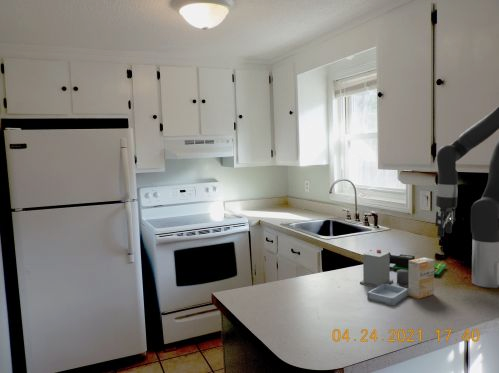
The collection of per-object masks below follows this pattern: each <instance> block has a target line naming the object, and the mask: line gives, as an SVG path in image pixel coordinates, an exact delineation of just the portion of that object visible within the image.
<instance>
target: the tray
mask: <svg viewBox="0 0 499 373" xmlns="http://www.w3.org/2000/svg"><path fill="white" fill-rule="evenodd" d="M366 293H367V294H366V295H367V296H366V297H367V298H366V300H370V301H373V302H377V303H381V304H385V305H390V306H394V305H396V304H397V303H399V302H401V301H402V300H404V299H405V298H406V297H408V296H409V295H408V288H406V287H402V286H397V285H394V284H385V283H384V284H382V285H380V286H378V287H373V288H372V289H370V290H369V291H367V292H366Z"/></svg>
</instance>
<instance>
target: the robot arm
mask: <svg viewBox="0 0 499 373" xmlns="http://www.w3.org/2000/svg"><path fill="white" fill-rule="evenodd" d="M498 130H499V105H498V106H497V107H496V108H494V109H493V110H492V111H491V112H490V113H489V114H487V115H485V117H483V118H481V119H480V120H478V121H477V122H475V123H474V124H473V125H471V126H470V127H469V128H467V129H466V130H464V132H462V133H461V134H460V135H459V136H458V138H457V139H455V140H454V141H453V142H452V143H450V144H446V145H443V146H441V147H440V148H439V149H438V151H437V155H436V163H437V170H438V174H437V175H438V176H437V187H436V200H435V206H436V207H437V208H439V210H436V212H435V227H437V237H439V238H443V237H444V236H445V233H446V234H452V230H453V224H454V223H455V221H456V208H457V207H458V206H457V205H458V193H459V192H458V191H459V190H458V183H459V182H458V180H459V178H458V177H459V173H458V171H457V168H456V166H457V164H456V163H457V161H459V160H460V159H462V158H463V157H464V156H465V155H467V154H468V153H469V152H470V151H471V150H473V149H475V147H478V146H479V145H481V144H482V143H484V141H485V142H486V140H487V139H489V138H490V137H491V136H492V135H494V134H495V133H496V132H497V131H498ZM470 232H471V234H472V235H471V236H472V237H471V238H472V243H471V244H472V245H471V246H472V250H471V252H472V253H471V254H472V255H471V283H472V284H473V285H475V286H477V287H483V288H493V289H498V288H499V139H498V140H497V142H496V143H495V146H494V150H493V151H492V154H491V157H490V161H489V167H488V178H487V184H486V187H485V188H484V192H483V193H482V195H481V198H480V199H478V200H476V201H474V202H473V204H472V205H471V209H470Z"/></svg>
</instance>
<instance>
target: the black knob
mask: <svg viewBox="0 0 499 373" xmlns="http://www.w3.org/2000/svg"><path fill="white" fill-rule="evenodd" d="M408 282H409V271H408V270H403V269H400V270H397V269H396V284H397V285H399V286H408Z"/></svg>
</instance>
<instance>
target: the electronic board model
mask: <svg viewBox="0 0 499 373" xmlns="http://www.w3.org/2000/svg"><path fill="white" fill-rule="evenodd" d="M370 251H372V249H370V250H369V252H370ZM387 252H388V251H387ZM388 253H390V252H388ZM414 259H416V257H415V255H408V254H400V255H392V253H390V265H392V264H393V266H392V267H391V268H392V269H395V270H396V271H397V270H400V269H403V270H408V271H409V260H414ZM446 267H447V264H446V263H445V264H443V263H436V262H434V275H438V276H439V275H440V274H441V273H442V271H444V269H445V268H446Z"/></svg>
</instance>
